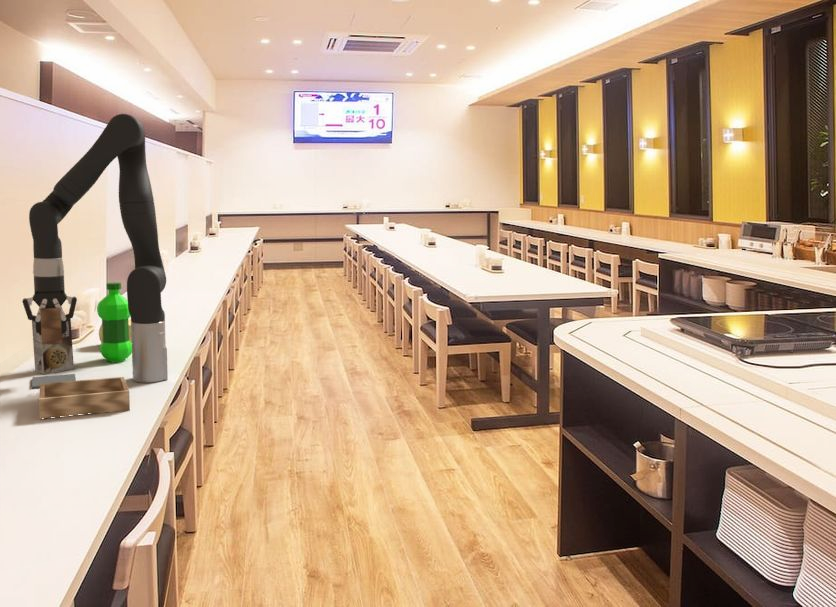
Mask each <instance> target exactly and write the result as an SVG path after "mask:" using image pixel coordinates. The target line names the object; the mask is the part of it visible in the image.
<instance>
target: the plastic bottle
mask: <svg viewBox="0 0 836 607" xmlns="http://www.w3.org/2000/svg"><path fill="white" fill-rule="evenodd" d="M121 289H122V283H121V282H107V283H106V290H107V291H108V294H107V295H106V296H104V297H103V298H102V299H101V300H100V301H99V302H98V303H97V306H96V312H97V316H99V318H100V319H101V324H102V334H103V341H102V343H101V342H100V346H99V353H100V354H101V355H102V357H103V358H104V359H105V360H106V361H108V362H110V363H119V362H125V361H126V359H128V358H129V357H130V356H132V343H131V342H130V341H129V323H128V319H130V318H131V316H130V313H129V310H128V299H127V298H125V297H124V296H123V295H122V294H120V290H121Z"/></svg>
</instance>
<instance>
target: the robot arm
mask: <svg viewBox="0 0 836 607" xmlns="http://www.w3.org/2000/svg"><path fill="white" fill-rule="evenodd" d="M146 155H147V154H146V130H145V128H144V125H143V123H142V122H141V121H140V120H139V119H137V118H136V117H135V116H133V115H131V114H127V113H119V114H116V115H114V116H112V117H111V119H110V120H109V121H108V123H107V124H106V126H105V127H104V129H103V131H102V132H101V134H100V135H99V136H98V138H97V140H95V142H94V144H92V146H90V148H89V149H88V150H87V151H86V153H85V154H84V155H83V156H82V157H81V158H80V159H79V160H78V161H77V162H76V163H75V164H74V165H73V166H72V167H71V168H70V169H69V170H68V171H67V172H66V173H65V174H64V175H63V176H62V177H61V178H60V179H59V181H57V183H56V184H55V185H54V187H53V190H52V191H51V192H50V193H49V194H48V195H47V196H46V197H45V199H43V200H42V201H38V202H36V203H34V204H33V205H32V206H31V208H30V210H29V213H28V218H29V219H28V221H29V228H30V232H31V237H32V240H33V242H32V243H33V244H32V245H33V246H32V248H33V249H32V250H33V265H32V267H33V268H32V269H33V271H32V274H33V288H34V291H33V292H34V294H33V295H32V297H28V298H26V297H25V298H23V299H22V300H21V302H22V305H23V308H24V311H25V314H26V317H27V320H29V321H32V320H33V321H35V322H36V332H37V333H39V335H41V314H40V308H61V319H62V320H61V331H62V334H64V332H66V330H67V325H66V321H67V320H68V319H70V318H71V319H73V318H74V314H75V310H76V306H77V301H78V298H77V297H76V296H68V295H67V294H66V292H65V290H66V289H65V269H64V268H65V267H64V266H65V265H64V260H63V247H62V244H63V243H62V241H61V240H62V239H61V238H60V237H59V228H58V225H59V224H60V223H61V222H62V221H63V220H64V218H65V217H66V216H67V215H68V213H69V212H71V210H72V208H73V207H74V205H76V204H77V203H78V202H79V201H80V200H81V199H82V198H83V197H84V196H85V195H86V194H87V193H88V192H89V191H90V189H92V188H93V186H94V185H95V184H96V182H97V181H98V180H99V178H100V177H101V175H102V174H103V172H104V171H105V170H106V169H107V167H109V165H111V163H112V162H113V161H114V160H115V159H117V161H118V166H119V167H118V168H119V173H118V174H119V177H118V204H119V210H120V211H119V212H120V217H121V221H122V225H123V228H124V230H125V232H126V235H127V237H128V239H129V241H130V244H131V247H132V251H133V259H134V269H133V270H132V271H131V272H129V274H128V276H127V279H126V280H127V281H126V296H127V298H126V299H127V300H128V310H129V313H130V320H131V338H132V343H131V344H132V353H131V363H132V365H131V366H132V380H133V381H134V382H136V383H156V382H161V381H162V382H163V381H167V380H168V379H169V377H168V372H169V371H168V348H167V346H166V344H167V342H166V320H165V319H166V313H165V311H164V309H163V307H162V292H163V291H164V289H165V288H166V285H167V275H166V272H165V267H164V263H163V259H162V256H161V252H160V245H159V233H158V225H157V224H158V222H157V216H156V215H157V214H156V206H155V202H154V201H155V200H154V194H153V189H152V185H151V180H150V176H149V172H148V166H147V156H146ZM66 300H67V303H68V304H69V310H68V313H65V312H64V310H63V307H62V306H63V304H64V303H65V302H66ZM33 302H34V304H36V305H37V306H38V310H37V312H36V315H34V314H33V312H32V309H31V306H32V305H33Z"/></svg>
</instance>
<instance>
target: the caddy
mask: <svg viewBox="0 0 836 607" xmlns="http://www.w3.org/2000/svg"><path fill="white" fill-rule="evenodd" d="M38 394H39V395H38V405H39V406H38V407H39V420H40V419H42V418H51V417H60V416H69V415H78V414H88V413H100V414H103V413H102V412H109V413H113V412H112V411H119V412H125V410H129V411H130V410H131V409H130V408H131V406H130V404H131V403H130V401H131V400H130V390H129V387H128V383H127V381H126V378H125V377H124V376H117V377H116V376H115V377H106V378H104V377H103V378H95V379H93V378H92V379H83V380H76V381H68V382H56V383H44V384H40V388H39V392H38ZM42 420H43V419H42Z"/></svg>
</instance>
